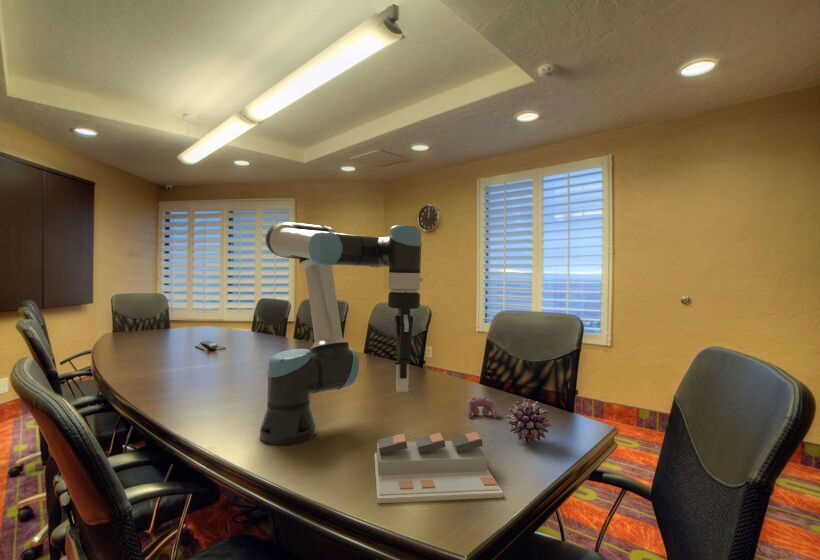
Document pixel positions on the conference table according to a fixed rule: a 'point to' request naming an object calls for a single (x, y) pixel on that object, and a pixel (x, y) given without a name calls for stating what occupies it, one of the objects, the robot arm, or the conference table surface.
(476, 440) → the right switch
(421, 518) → the conference table surface
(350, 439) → the conference table surface
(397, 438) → the left switch
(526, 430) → the flower
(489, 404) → the video game controller
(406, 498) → the switch panel
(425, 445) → the middle switch
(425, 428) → the conference table surface
